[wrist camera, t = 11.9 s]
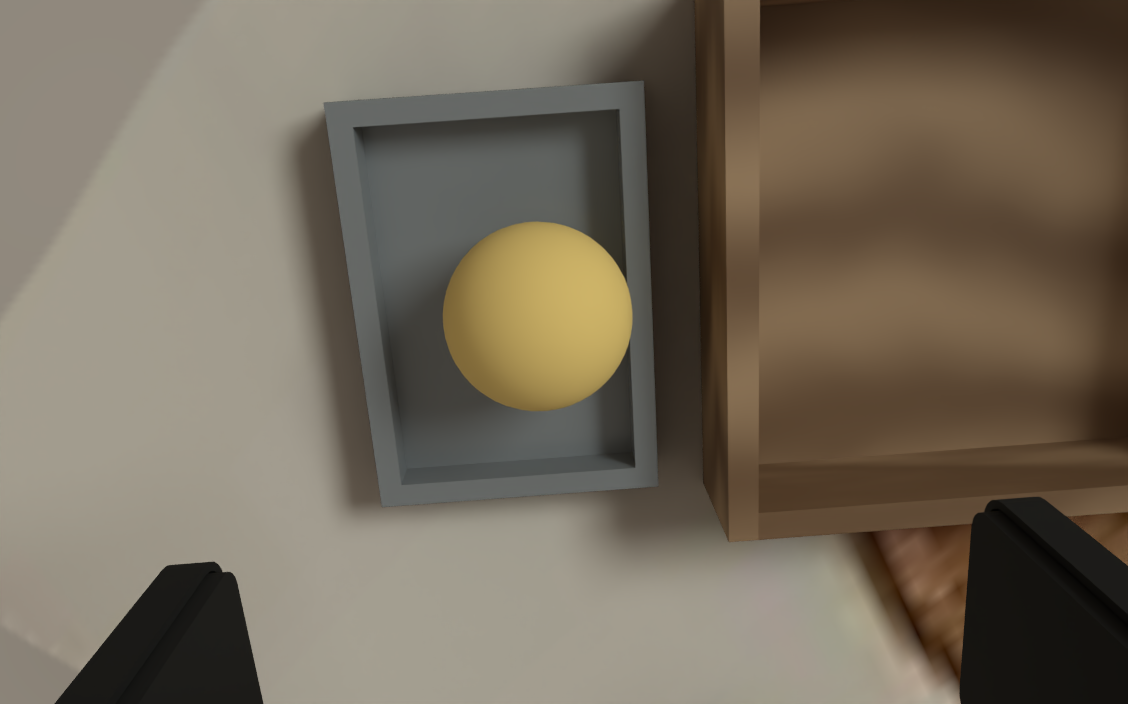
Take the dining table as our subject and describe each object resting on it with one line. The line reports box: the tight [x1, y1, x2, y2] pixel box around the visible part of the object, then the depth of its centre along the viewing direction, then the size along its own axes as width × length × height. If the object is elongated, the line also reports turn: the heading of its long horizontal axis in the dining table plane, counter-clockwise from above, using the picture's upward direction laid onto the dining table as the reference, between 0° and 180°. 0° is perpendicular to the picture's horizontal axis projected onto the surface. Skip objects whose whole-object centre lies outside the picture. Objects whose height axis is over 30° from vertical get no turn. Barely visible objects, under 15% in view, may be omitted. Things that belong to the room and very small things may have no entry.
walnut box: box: [694, 0, 1128, 542], centre depth 28 cm, size 18×18×4 cm
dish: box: [324, 81, 658, 507], centre depth 29 cm, size 14×10×2 cm
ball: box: [443, 221, 632, 411], centre depth 27 cm, size 6×6×6 cm
